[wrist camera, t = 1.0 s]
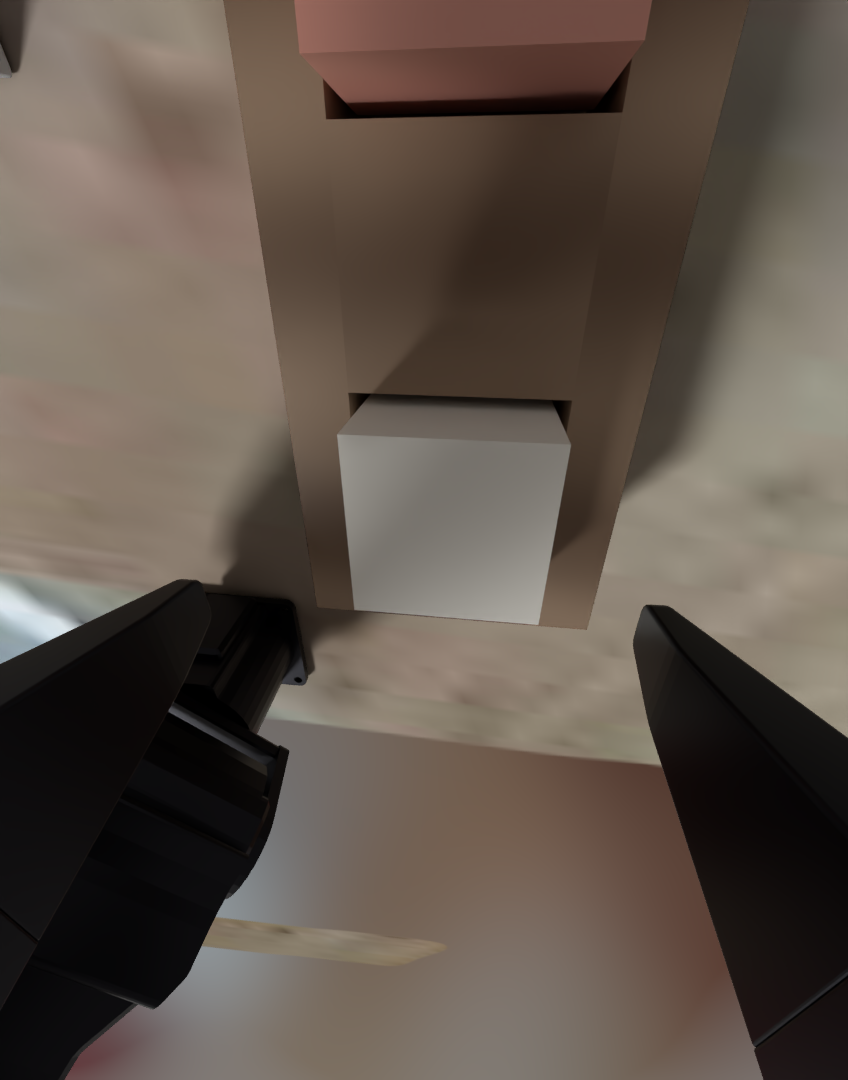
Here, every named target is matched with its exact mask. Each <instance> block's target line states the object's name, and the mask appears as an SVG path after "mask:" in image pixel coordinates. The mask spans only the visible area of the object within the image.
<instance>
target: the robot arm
mask: <svg viewBox="0 0 848 1080" xmlns="http://www.w3.org/2000/svg"><path fill="white" fill-rule="evenodd" d="M284 608H286V609H287V610H286V609H284ZM633 649H634V654H635V659H636V664H637V669H638V674H639V679H640V685H641V690H642V695H643V700H644V705H645V710H646V714H647V719H648V723H649V727H650V730H651V734H652V737H653V740H654V743H655V746H656V749H657V752H658V755H659V758H660V762H661V765H662V768H663V771H664V774H665V777H666V780H667V783H668V786H669V789H670V792H671V795H672V798H673V802H674V804H675V808H676V811H677V814H678V817H679V820H680V823H681V826H682V829H683V832H684V835H685V838H686V842H687V844H688V848H689V851H690V854H691V857H692V860H693V863H694V866H695V869H696V872H697V875H698V878H699V881H700V885H701V887H702V891H703V894H704V897H705V900H706V903H707V906H708V909H709V912H710V915H711V918H712V922H713V925H714V927H715V931H716V934H717V937H718V940H719V943H720V946H721V949H722V952H723V955H724V958H725V961H726V964H727V968H728V971H729V974H730V977H731V980H732V983H733V986H734V989H735V992H736V995H737V998H738V1001H739V1004H740V1008H741V1011H742V1014H743V1017H744V1020H745V1023H746V1026H747V1029H748V1032H749V1035H750V1038H751V1041H752V1044H753V1045H754V1046H755V1047H756V1048H755V1050H754V1052H755V1055H756V1058H757V1061H758V1064H759V1067H760V1070H761V1073H762V1076H763V1080H848V738H847V737H846V736H845V735H843V734H842V733H840V732H839V731H838V730H836V729H835V728H834V727H832V726H831V725H830V724H828V723H827V722H826V721H824V720H823V719H822V718H820V717H819V716H817V715H816V714H815V713H813V712H812V711H811V710H809V709H808V708H807V707H805V706H804V705H803V704H801V703H800V702H798V701H797V700H796V699H794V698H793V697H792V696H790V695H789V694H788V693H786V692H785V691H784V690H782V689H781V688H779V687H778V686H777V685H775V684H774V683H773V682H771V681H770V680H769V679H767V678H766V677H765V676H763V675H762V674H760V673H759V672H758V671H756V670H755V669H754V668H752V667H751V666H750V665H748V664H747V663H746V662H744V661H743V660H742V659H740V658H739V657H737V656H736V655H735V654H733V653H732V652H731V651H729V650H728V649H727V648H725V647H724V646H723V645H721V644H720V643H718V642H717V641H716V640H714V639H713V638H712V637H710V636H709V635H708V634H706V633H705V632H704V631H702V630H701V629H699V628H698V627H697V626H695V625H694V624H693V623H691V622H690V621H689V620H687V619H686V618H685V617H683V616H682V615H680V614H679V613H678V612H676V611H675V610H674V609H672V608H671V607H669V606H665V605H646V606H644V607H643V609H642V611H641V614H640V618H639V621H638V625H637V628H636V631H635V635H634V639H633ZM307 679H308V672H307V666H306V661H305V656H304V650H303V645H302V639H301V634H300V629H299V623H298V618H297V613H296V607H295V605H294V604H293V603H292V602H291V601H289V600H285V599H273V598H261V597H248V596H236V595H224V594H211V593H205V591H204V588H203V586H202V584H201V583H200V582H199V581H197V580H188V579H179V580H176V581H174V582H171V583H169V584H167V585H165V586H163V587H161V588H159V589H157V590H155V591H153V592H150V593H148V594H146V595H144V596H142V597H140V598H138V599H136V600H134V601H132V602H130V603H127V604H125V605H123V606H121V607H119V608H117V609H115V610H113V611H111V612H109V613H106V614H104V615H102V616H100V617H98V618H96V619H94V620H92V621H90V622H88V623H85V624H83V625H81V626H79V627H77V628H75V629H73V630H71V631H69V632H67V633H65V634H62V635H60V636H58V637H56V638H54V639H52V640H50V641H48V642H46V643H44V644H41V645H39V646H37V647H35V648H33V649H31V650H29V651H27V652H25V653H23V654H20V655H18V656H16V657H14V658H12V659H10V660H8V661H6V662H4V663H2V664H0V1080H64V1079H65V1078H66V1076H67V1074H68V1073H69V1071H70V1070H71V1068H72V1066H73V1064H74V1063H75V1061H76V1060H77V1058H78V1056H79V1055H80V1054H81V1052H83V1051H84V1050H85V1049H86V1048H87V1047H88V1046H89V1045H91V1044H92V1043H93V1042H94V1041H95V1040H96V1039H98V1038H99V1037H100V1036H101V1035H102V1034H104V1032H106V1031H107V1030H108V1029H109V1028H111V1027H112V1026H113V1025H114V1024H115V1023H117V1022H118V1021H119V1020H120V1019H121V1018H122V1017H124V1016H125V1015H126V1014H127V1013H128V1012H130V1010H132V1009H133V1008H134V1007H135V1006H137V1005H142V1006H144V1007H147V1008H150V1009H155V1008H156V1007H158V1006H159V1005H160V1004H161V1003H162V1002H163V1001H164V1000H165V999H166V998H167V997H168V996H169V995H170V994H171V993H172V992H173V991H174V990H175V989H176V988H177V987H178V985H179V984H180V983H181V982H182V981H183V980H184V979H185V978H186V977H187V975H188V973H189V972H190V970H191V967H192V965H193V963H194V961H195V959H196V957H197V954H198V952H199V950H200V948H201V946H202V944H203V942H204V939H205V937H206V935H207V933H208V931H209V929H210V927H211V925H212V923H213V921H214V918H215V916H216V914H217V912H218V910H219V908H220V907H221V905H222V903H223V901H224V900H225V899H227V898H229V897H230V896H232V895H233V894H234V893H235V892H236V891H237V890H238V889H239V888H240V886H241V885H242V884H243V882H244V881H245V880H246V878H247V877H248V875H249V873H250V872H251V870H252V869H253V867H254V866H255V864H256V862H257V860H258V858H259V856H260V854H261V852H262V850H263V848H264V846H265V843H266V841H267V839H268V836H269V834H270V831H271V828H272V824H273V821H274V817H275V812H276V808H277V804H278V799H279V795H280V790H281V786H282V781H283V777H284V773H285V768H286V764H287V759H288V755H289V750H288V749H286V748H284V747H282V746H281V745H280V746H277V745H275V744H273V743H271V742H270V741H268V740H266V739H265V738H263V737H261V736H259V735H257V733H258V731H259V729H260V727H261V725H262V723H263V721H264V718H265V716H266V714H267V712H268V710H269V708H270V706H271V704H272V702H273V700H274V698H275V696H276V693H277V691H278V689H279V687H280V685H281V684H289V685H304V684H305V683H306V681H307Z"/></svg>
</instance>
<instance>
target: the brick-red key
mask: <svg viewBox="0 0 848 1080" xmlns="http://www.w3.org/2000/svg"><path fill="white" fill-rule="evenodd" d="M294 3H295V13H296V23H297V33H298V44H299V53H300V55H301V56H302V57H303V58H304V59H305V60H306V61H307V62H308V63H309V64H310V65H311V66H312V67H313V68H314V69H315V71H316V72H317V73H318V74H319V75H320V76H321V77H322V78H323V79H324V80H325V81H326V82H327V83H328V84H329V86H330V87H331V88H332V89H333V90H334V91H335V92H336V93H337V94H338V95H339V96H340V97H341V98H342V99H343V101H344V102H345V103H346V104H347V105H348V106H349V107H350V108H351V109H352V110H353V111H354V112H355V113H356V114H357V115H388V114H429V113H470V112H511V111H552V110H593V109H595V107H596V106H597V105H598V103H599V102H600V101H601V99H602V98H603V96H604V95H605V94H606V92H607V91H608V90H609V88H610V87H611V86H612V84H613V83H614V81H615V80H616V79H617V77H618V76H619V75H620V73H621V72H622V71H623V69H624V68H625V67H626V65H627V64H628V62H629V61H630V60H631V58H632V57H633V56H634V54H635V53H636V52H637V50H638V49H639V48H640V46H641V45H642V43H643V42H644V41H645V36H646V31H647V26H648V20H649V15H650V9H651V4H652V0H294Z"/></svg>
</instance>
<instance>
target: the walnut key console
mask: <svg viewBox="0 0 848 1080" xmlns="http://www.w3.org/2000/svg"><path fill="white" fill-rule="evenodd" d="M223 1H224V7H225V14H226V20H227V27H228V33H229V40H230V46H231V53H232V59H233V66H234V72H235V78H236V85H237V91H238V98H239V104H240V111H241V117H242V124H243V130H244V137H245V143H246V150H247V156H248V163H249V169H250V176H251V182H252V189H253V195H254V202H255V208H256V215H257V221H258V228H259V234H260V241H261V247H262V254H263V260H264V267H265V273H266V280H267V286H268V292H269V299H270V305H271V312H272V318H273V325H274V331H275V338H276V344H277V351H278V357H279V364H280V370H281V377H282V383H283V390H284V396H285V403H286V409H287V416H288V422H289V429H290V435H291V442H292V448H293V455H294V461H295V468H296V474H297V481H298V487H299V494H300V500H301V506H302V513H303V519H304V526H305V532H306V539H307V545H308V552H309V558H310V565H311V571H312V578H313V584H314V591H315V597H316V604H317V608H328V609H340V610H353V611H362V610H354V601H353V591H352V581H351V571H350V560H349V550H348V540H347V530H346V520H345V510H344V500H343V489H342V479H341V469H340V459H339V449H338V439H337V434H338V433H339V431H340V430H341V429H342V428H343V427H344V425H345V424H346V423H347V422H348V421H349V419H350V418H351V417H352V416H353V415H354V413H355V412H356V411H357V410H358V409H359V408H360V406H361V405H362V404H363V403H364V402H365V400H366V399H367V398H368V397H369V396H370V394H371V393H373V394H401V395H429V396H457V397H486V398H514V399H542V400H552V402H553V405H554V407H555V409H556V411H557V414H558V416H559V418H560V421H561V423H562V425H563V427H564V430H565V432H566V434H567V436H568V439H569V441H570V443H571V448H570V454H569V459H568V465H567V470H566V476H565V481H564V487H563V492H562V498H561V503H560V509H559V514H558V520H557V525H556V531H555V536H554V542H553V547H552V553H551V558H550V564H549V569H548V575H547V580H546V586H545V591H544V597H543V602H542V608H541V613H540V619H539V624H538V625H535V626H547V627H559V628H572V629H584V630H587V627H588V624H589V620H590V616H591V612H592V608H593V604H594V600H595V597H596V593H597V589H598V585H599V581H600V577H601V573H602V569H603V566H604V562H605V558H606V554H607V550H608V546H609V542H610V539H611V535H612V531H613V527H614V523H615V519H616V515H617V512H618V508H619V504H620V500H621V496H622V492H623V488H624V484H625V481H626V477H627V473H628V469H629V465H630V461H631V457H632V454H633V450H634V446H635V442H636V438H637V434H638V430H639V426H640V423H641V419H642V415H643V411H644V407H645V403H646V399H647V396H648V392H649V388H650V384H651V380H652V376H653V372H654V368H655V365H656V361H657V357H658V353H659V349H660V345H661V341H662V338H663V334H664V330H665V326H666V322H667V318H668V314H669V310H670V307H671V303H672V299H673V295H674V291H675V287H676V283H677V280H678V276H679V272H680V268H681V264H682V260H683V256H684V253H685V249H686V245H687V241H688V237H689V233H690V229H691V225H692V222H693V218H694V214H695V210H696V206H697V202H698V198H699V195H700V191H701V187H702V183H703V179H704V175H705V171H706V167H707V164H708V160H709V156H710V152H711V148H712V144H713V140H714V137H715V133H716V129H717V125H718V121H719V117H720V113H721V109H722V106H723V102H724V98H725V94H726V90H727V86H728V82H729V79H730V75H731V71H732V67H733V63H734V59H735V55H736V52H737V48H738V44H739V40H740V36H741V32H742V28H743V24H744V21H745V17H746V13H747V9H748V5H749V1H750V0H652V4H651V9H650V15H649V20H648V26H647V31H646V36H645V41H644V42H643V43H642V45H641V46H640V48H639V49H638V50H637V52H636V53H635V54H634V56H633V57H632V58H631V60H630V61H629V62H628V64H627V65H626V67H625V68H624V69H623V71H622V72H621V73H620V75H619V76H618V77H617V79H616V80H615V81H614V83H613V84H612V86H611V87H610V88H609V90H608V91H607V92H606V94H605V95H604V96H603V98H602V99H601V101H600V102H599V103H598V105H597V106H596V107H595V109H593V110H552V111H511V112H470V113H429V114H388V115H357V114H356V113H355V112H354V111H353V110H352V109H351V108H350V107H349V106H348V105H347V104H346V103H345V102H344V101H343V99H342V98H341V97H340V96H339V95H338V94H337V93H336V92H335V91H334V90H333V89H332V88H331V87H330V86H329V84H328V83H327V82H326V81H325V80H324V79H323V78H322V77H321V76H320V75H319V74H318V73H317V72H316V71H315V69H314V68H313V67H312V66H311V65H310V64H309V63H308V62H307V61H306V60H305V59H304V58H303V57H302V56H301V55H300V53H299V44H298V33H297V23H296V13H295V3H294V0H223ZM365 612H374V611H365ZM377 613H386V612H377ZM389 614H399V613H389ZM401 615H411V614H401ZM413 616H423V615H413ZM426 617H435V616H426ZM438 618H447V617H438ZM450 619H460V618H450ZM462 620H472V619H462ZM474 621H484V620H474ZM486 622H496V621H486ZM499 623H508V622H499ZM511 624H521V623H511ZM523 625H533V624H523Z"/></svg>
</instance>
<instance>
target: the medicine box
mask: <svg viewBox="0 0 848 1080" xmlns="http://www.w3.org/2000/svg"><path fill="white" fill-rule="evenodd" d="M2 77H4V78H10V77H12V72H11V69H10V66H9V64H8V61H7V59H6V56H5V54H4V51H3V49H2V46H1V44H0V78H2Z"/></svg>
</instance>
